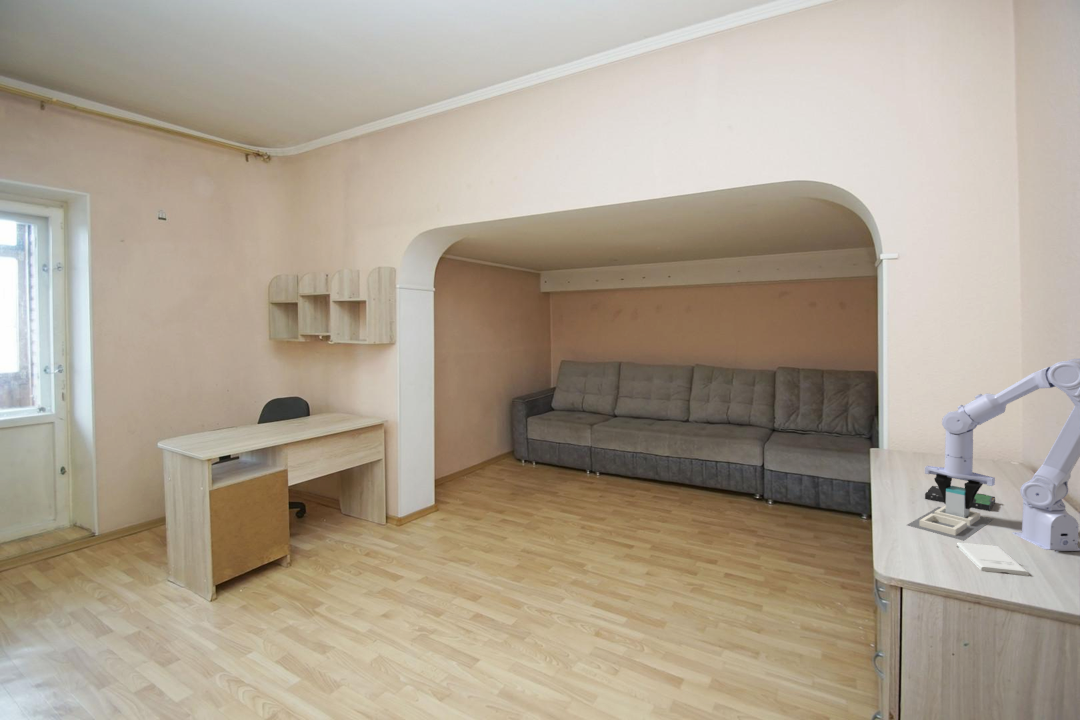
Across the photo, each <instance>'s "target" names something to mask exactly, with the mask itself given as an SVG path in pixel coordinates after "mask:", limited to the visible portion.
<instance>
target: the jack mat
mask: <svg viewBox="0 0 1080 720" xmlns="http://www.w3.org/2000/svg"><path fill="white" fill-rule="evenodd" d="M942 507H943V506H942ZM942 507H941V506H937V507H935V508H934V509H932V510H930V511H928V512H927V513H925V514H923V515H922V516H920V517H918V518H917V519H914V520H913V521H910V522H909V523H907V524H906V526H907V527H912V528H916V529H919V530H923V531H925V532H931V533H932V534H933V533H935V534H938V535H941V536H944V537H945V536H946V537H949V538H953V539H957V540H959V541H965V540H967V539H968V538H970V537H972V535H974V534H975V533H977V532H978V531H979V530H980V529H982V528H984V527H986V526H987V524H989V523H991V522H992V521H994V519H992V518H990V517H983V516H980V519H979V520H978V521H976V522H975V523H973V524H972V525H970V526H968V525H967V528H966V529H964V530H963V531H961V532H960V533H958V534H957V535H952V534H948V533H944V532H940V531H937V530H933V529H929V528H925V527H922V526H919V520H921V519H923V518H924V517H926V516H928V515H929V514H931V513H932V514H934V512H935V511H936V510H938V509H940V508H942ZM966 518H969V517H966ZM932 523H936V524H940V525H944V526H948V527H952V528H953V527H955V526H954V525H950V524H946V523H942V522H938V521H932Z"/></svg>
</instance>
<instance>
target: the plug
mask: <svg viewBox="0 0 1080 720" xmlns="http://www.w3.org/2000/svg"><path fill="white" fill-rule="evenodd" d="M965 501H966V492H965V487H961V486H955V485H951V486H950V487H948V488H946V504H945V505H946V512H945V513H946V514H951V515H955V516H959V517H963V518H966V517H967V516H969V515H970V511H971V510H970V509H971V508H970V509H966V507H965Z"/></svg>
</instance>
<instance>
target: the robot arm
mask: <svg viewBox="0 0 1080 720" xmlns="http://www.w3.org/2000/svg"><path fill="white" fill-rule="evenodd" d="M1055 387H1056V389H1057V388H1058V389H1059V390H1060V391H1062V392H1063V393H1065V394H1066V396H1067V397H1068V398H1069V399H1070V401H1071V402H1072V404H1073V405H1074V406H1073V409H1072V410H1071V412H1070V414H1069V416H1068V417H1067V419H1066V421H1065V422H1064V423H1063V426H1062V428H1061V430H1060V432H1059V433H1058V435H1057V437H1056V439H1055V441H1054V443H1053V444H1052V446H1051V448H1050V450H1049V451H1048V454H1047V455H1046V457H1045V459H1044V461H1043V463H1042V465H1041V466H1040V467H1039V468H1038V469H1037V471H1036V472H1035V473H1034V474H1033V476H1032V477H1031V479H1030V480H1028V481H1026V482H1024V483H1023V484H1022V485H1021V487H1020V492H1019V493H1020V496H1021V497H1022V519H1021V520H1022V521H1021V523H1022V524H1021V531H1019V532H1017V531H1013V532H1011V534H1012V535H1014V536H1016V537H1018V538H1021V539H1023V540H1024V541H1027V542H1029V543H1030V544H1032V545H1035V546H1036V547H1038V548H1040V549H1042V550H1046V551H1048V550H1049V551H1054V550H1055V552H1059V551H1060V552H1070V551H1071V552H1073V551H1075V552H1080V547H1079V522H1078V520H1077V519H1076V518H1075V517H1074V516H1072V515H1071V514H1069V513H1068V512H1067V511H1068V510H1067V509H1066V504H1065V503H1064V501H1063V500H1062V499H1064V498H1066V497H1067V496H1068V493H1069V486H1068V485H1069V480H1070V479H1071V474H1072V471H1073V470H1074V467H1076V464H1077V463H1078V461H1079V459H1080V358H1071V359H1068V360H1063V361H1058V362H1056V363H1054V364H1053V365H1051V366H1047V367H1045V368H1042V369H1040V370H1037V371H1034V372H1032V373H1030V374H1028V375H1026V376H1025V377H1023V378H1021V379H1020V380H1019V381H1017V382H1014V383H1013V384H1011V385H1010V386H1008V387H1006V388H1005V389H1003V390H1001V391H1000V392H997V393H996V394H993V393H990V392H989V393H984V394H982V393H980V394H977V395H975V396H974V398H975V399H974V400H972V401H969V402H968V403H966V404H964V405H963V404H961V405H960V404H959V405H958V406H957V410H952V411H948V412H946V414H945V415H944V416H943V418H942V420H941V425H942V427H943V429H944V430H945V438H944V444H945V446H944V448H945V449H944V467H941V466H933V465H926V466H924V474H926V475H935V477H934V482H935V483H936V486H938V487H939V489H940V491H941V493H942V496H943V500H944V503H943V504H944V505H946V488H948V487H950V486H952V482H953V481H952V480H953V479H954V480H955V479H956V480H961V481H966V482H965V483H964V488H965V492H966V501H965V507H966V509H971V507H972V503H973V500H974V498H975V495H976V494H977V493H978V492H979V490H980V489H981V488H982V486H983V485H986V486H989V487H993V486H994V485H996V483H995V481H996V480H995V479H996V477H995V476H988V475H985V474H981V473H977V472H973V469H974V468H973V467H974V466H973V465H974V462H973V460H974V459H973V458H974V430H975V429H976V428H977V427H978V426H980V425H983V424H985V423H987V422H988V421H991V420H992V419H994V418H997V417H999V416H1000V415H1002V414H1005V412H1006V408H1007V405H1008V404H1010V403H1013V402H1015V401H1017V400H1018V399H1020V398H1023V397H1025V396H1028V395H1029V394H1032V393H1033V392H1035V391H1037V390H1039V389H1052V388H1055Z"/></svg>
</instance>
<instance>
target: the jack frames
mask: <svg viewBox="0 0 1080 720" xmlns="http://www.w3.org/2000/svg"><path fill="white" fill-rule="evenodd" d="M945 512H946V504H944V505H943V506H942V508H940V509H938V510H936V511H935V512H934V514H932V513H931V514H929V515H928V516H926V517H924V518H923V519H921V520H919V526H922V527H925V528H929V529H933V530H937V531H940V532H944V533H948V534H952V535H957V534H958V533H960V532H961V531H963V530H964V529H966V528H967V525H968V526H970V525H972V524H973V523H975V522H976V521H978V520H979V519H980V517H981V512H976V511H973V510H970V515H969V516H967V517H969V518H963V517H959V516H955V515H951V514H946V513H945ZM932 521H938V522H942V523H946V524H950V525H954V526H955V527H953V528H952V527H948V526H944V525H940V524H936V523H932Z"/></svg>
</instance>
